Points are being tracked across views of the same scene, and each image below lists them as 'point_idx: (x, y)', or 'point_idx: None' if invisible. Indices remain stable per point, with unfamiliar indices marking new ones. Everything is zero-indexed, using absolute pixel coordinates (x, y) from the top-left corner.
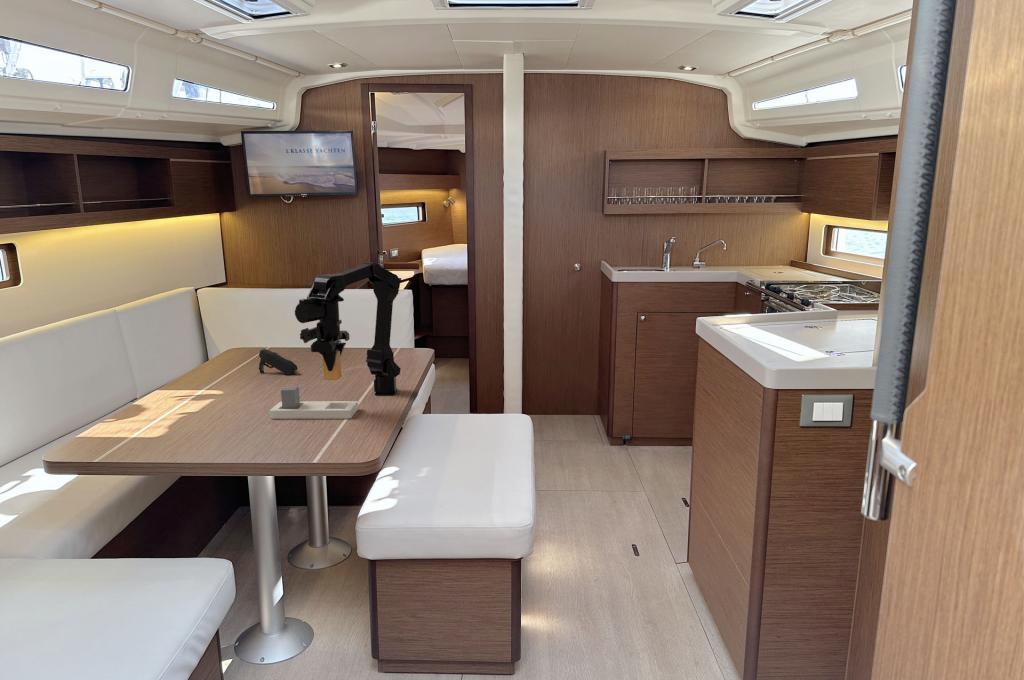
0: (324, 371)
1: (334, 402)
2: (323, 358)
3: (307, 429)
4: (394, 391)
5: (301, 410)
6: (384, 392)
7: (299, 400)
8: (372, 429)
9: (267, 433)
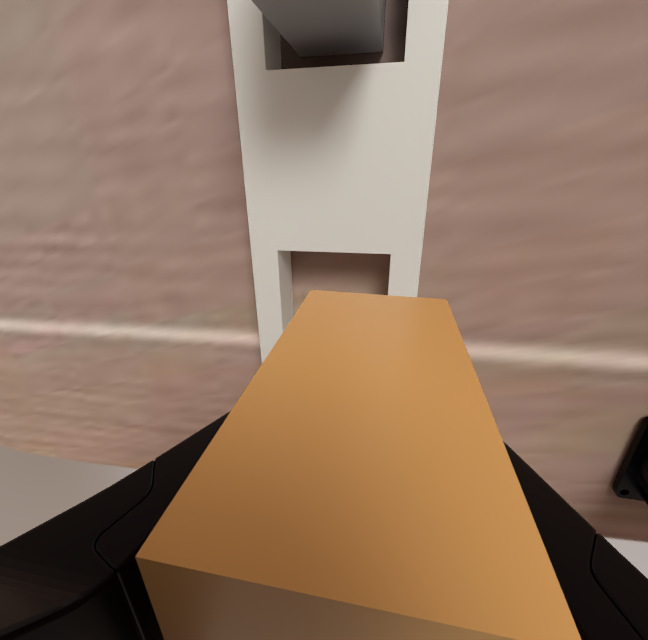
0: (288, 333)
1: (396, 275)
2: (208, 458)
3: (124, 208)
4: (646, 502)
5: (239, 112)
6: (640, 465)
7: (370, 23)
8: (176, 433)
9: (24, 9)
